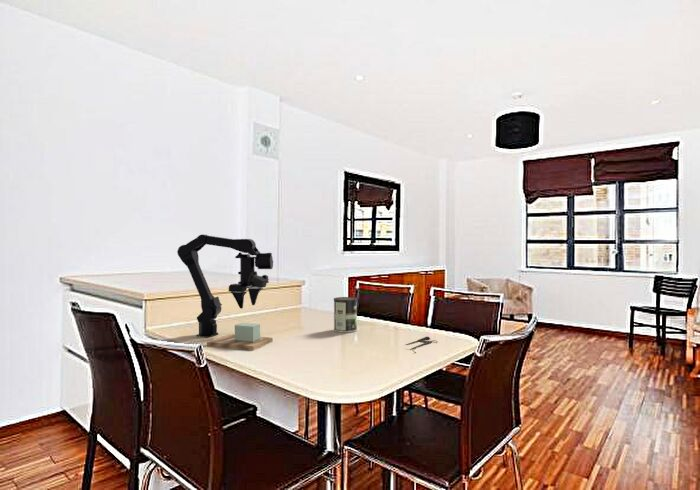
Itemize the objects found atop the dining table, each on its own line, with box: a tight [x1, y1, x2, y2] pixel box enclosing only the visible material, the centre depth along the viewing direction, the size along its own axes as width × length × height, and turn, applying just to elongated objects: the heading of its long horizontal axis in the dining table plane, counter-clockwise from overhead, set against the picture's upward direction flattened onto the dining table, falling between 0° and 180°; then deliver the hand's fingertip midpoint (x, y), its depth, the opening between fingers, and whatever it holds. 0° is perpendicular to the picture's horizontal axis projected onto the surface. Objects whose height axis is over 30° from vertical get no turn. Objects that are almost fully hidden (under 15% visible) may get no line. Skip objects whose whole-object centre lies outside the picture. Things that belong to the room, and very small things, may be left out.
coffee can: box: [333, 296, 358, 334], centre depth 189 cm, size 10×10×14 cm
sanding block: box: [234, 322, 261, 343], centre depth 163 cm, size 8×5×6 cm, turn 72°
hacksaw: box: [404, 336, 439, 354], centre depth 162 cm, size 24×10×2 cm, turn 135°
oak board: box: [206, 333, 274, 351], centre depth 164 cm, size 20×14×2 cm
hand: (247, 306), depth 178 cm, fingers open, 9 cm apart
